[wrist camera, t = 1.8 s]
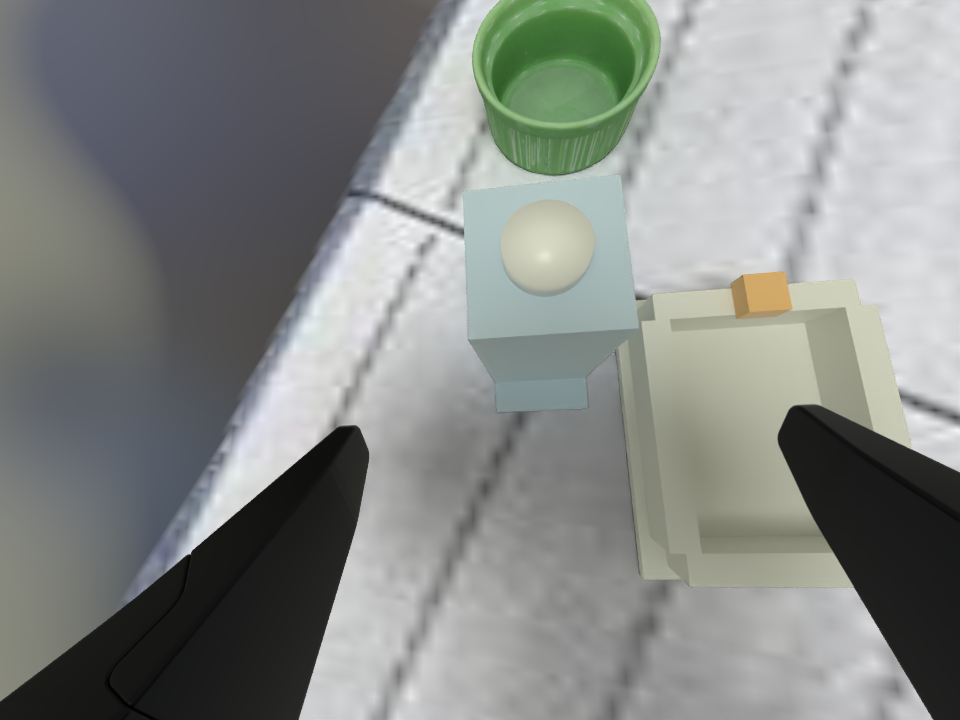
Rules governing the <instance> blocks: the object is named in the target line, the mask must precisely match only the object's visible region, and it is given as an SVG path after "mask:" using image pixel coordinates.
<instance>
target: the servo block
mask: <svg viewBox="0 0 960 720" xmlns="http://www.w3.org/2000/svg"><path fill="white" fill-rule="evenodd" d="M463 207H464V236H465V265H466V294H467V323H468V340H469V342H470V344H471V345H472V347H473V348H474V350H475V352H476V353H477V355H478V356H479V358H480V360H481V361H482V363H483V364H484V366H485V368H486V369H487V371H488V372H489V374H490V376H491V377H492V379H493V380H494V382H495V399H496V413H510V412H531V411H553V410H575V409H587V408H588V397H587V386H586V377H587V376H588V375H589V374H590V373H591V372H592V371H593V370H594V369H595V368H596V367H598V366H599V365H600V364H601V363H602V362H603V361H604V360H605V359H606V358H607V357H608V356H609V355H611V354H612V353H613V352H614V351H615V350H616V349H617V348H618V347H619V346H620V345H621V344H622V343H624V342H625V341H626V340H627V339H628V338H629V337H630V336H631V335H632V334H633V333H634V332H635V331H637V330H638V329H639V324H638V316H637V307H636V299H635V291H634V283H633V274H632V266H631V258H630V250H629V242H628V233H627V225H626V217H625V209H624V200H623V192H622V184H621V176H620V174H619V175H610V176H601V177H591V178H582V179H573V180H564V181H554V182H545V183H536V184H527V185H518V186H508V187H499V188H490V189H481V190H471V191H463Z"/></svg>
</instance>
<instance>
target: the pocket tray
mask: <svg viewBox="0 0 960 720" xmlns="http://www.w3.org/2000/svg"><path fill="white" fill-rule="evenodd" d="M730 285H731V288H728V289H715V290H702V291H688V292H675V293H662V294H652V295H651V296H650V297H649V298H648V299H647V300H636V307H637V316H638V324H639V329H638V330H637V331H635V332H634V333H633V334H632V335H631V336H630V337H629V338H628V339H627V340H626V341H625V342H624V343H622V344H621V345H620V346H619V347H618V348H617V349H616V358H617V367H618V376H619V386H620V395H621V404H622V413H623V422H624V432H625V441H626V450H627V459H628V469H629V478H630V487H631V496H632V506H633V515H634V524H635V533H636V542H637V552H638V561H639V570H640V575H641V577H642V578H643V579H644V580H683V581H684V582H685V583H686V584H687V585H688V586H689V587H769V588H854V586H853V585H852V583H851V581H850V580H849V578H848V576H847V575H846V573H845V571H844V570H843V568H842V566H841V565H840V563H839V561H838V560H837V558H836V556H835V555H834V553H833V551H832V550H831V548H830V546H829V545H828V543H827V541H826V540H825V538H824V536H823V535H822V533H821V531H820V530H819V528H818V526H817V524H816V523H815V521H814V519H813V517H812V515H811V513H810V511H809V509H808V507H807V506H806V503H805V501H804V499H803V497H802V495H801V493H800V491H799V488H798V486H797V484H796V482H795V480H794V478H793V475H792V473H791V471H790V469H789V467H788V465H787V463H786V460H785V458H784V456H783V454H782V452H781V450H780V447H779V445H778V439H777V437H778V432H779V430H780V428H781V426H782V423H783V421H784V419H785V417H786V414H787V412H788V410H789V409H790V408H791V407H792V406H794V405H803V404H817V405H820V406H822V407H824V408H827V409H829V410H831V411H833V412H835V413H837V414H839V415H841V416H843V417H845V418H847V419H849V420H851V421H854V422H856V423H858V424H860V425H862V426H864V427H866V428H868V429H870V430H872V431H874V432H876V433H879V434H881V435H883V436H885V437H887V438H889V439H891V440H893V441H895V442H897V443H899V444H901V445H904V446H906V447H908V448H910V449H912V445H911V441H910V437H909V433H908V428H907V424H906V420H905V416H904V412H903V408H902V404H901V400H900V396H899V392H898V388H897V384H896V380H895V375H894V371H893V367H892V363H891V359H890V355H889V351H888V347H887V343H886V339H885V335H884V331H883V327H882V322H881V318H880V314H879V310H878V306H877V305H870V306H861V303H860V299H859V294H858V290H857V286H856V282H855V279H847V280H833V281H820V282H807V283H794V284H787V279H786V274H785V271H784V272H771V273H759V274H746V275H742V276H741V277H739V278H738V279H736V280H735V281H734V282H732V283H731V284H730ZM912 450H913V449H912Z"/></svg>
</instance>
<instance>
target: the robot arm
mask: <svg viewBox="0 0 960 720" xmlns="http://www.w3.org/2000/svg"><path fill="white" fill-rule="evenodd" d="M777 439H778V445H779V447H780V450H781V452H782V454H783V456H784V458H785V460H786V463H787V465H788V467H789V469H790V471H791V473H792V475H793V478H794V480H795V482H796V484H797V486H798V488H799V491H800V493H801V495H802V497H803V499H804V501H805V503H806V506H807V507H808V509H809V511H810V513H811V515H812V517H813V519H814V521H815V523H816V524H817V526H818V528H819V530H820V531H821V533H822V535H823V536H824V538H825V540H826V541H827V543H828V545H829V546H830V548H831V550H832V551H833V553H834V555H835V556H836V558H837V560H838V561H839V563H840V565H841V566H842V568H843V570H844V571H845V573H846V575H847V576H848V578H849V580H850V581H851V583H852V585H853V586H854V588H855V590H856V591H857V593H858V595H859V596H860V598H861V600H862V601H863V603H864V605H865V606H866V608H867V610H868V611H869V613H870V615H871V617H872V618H873V620H874V622H875V623H876V625H877V627H878V628H879V630H880V632H881V633H882V635H883V637H884V638H885V640H886V642H887V643H888V645H889V647H890V648H891V650H892V652H893V653H894V655H895V657H896V658H897V660H898V662H899V663H900V665H901V667H902V668H903V670H904V672H905V673H906V675H907V677H908V678H909V680H910V682H911V683H912V685H913V687H914V688H915V690H916V692H917V693H918V695H919V697H920V698H921V700H922V702H923V703H924V705H925V707H926V708H927V710H928V712H929V713H930V715H931V717H932V719H933V720H960V472H958V471H956V470H954V469H951V468H949V467H947V466H945V465H943V464H941V463H939V462H937V461H935V460H933V459H931V458H929V457H926V456H924V455H922V454H920V453H918V452H916V451H914V450H912V449H910V448H908V447H906V446H904V445H901V444H899V443H897V442H895V441H893V440H891V439H889V438H887V437H885V436H883V435H881V434H879V433H876V432H874V431H872V430H870V429H868V428H866V427H864V426H862V425H860V424H858V423H856V422H854V421H851V420H849V419H847V418H845V417H843V416H841V415H839V414H837V413H835V412H833V411H831V410H829V409H827V408H824V407H822V406H820V405H817V404H803V405H794V406H792V407H791V408H790V409H789V410H788V412H787V414H786V417H785V419H784V421H783V423H782V426H781V428H780V430H779V432H778V437H777ZM368 463H369V451H368V448H367V445H366V443H365V440H364V438H363V435H362V433H361V430H360V428H359V427H358V426H356V425H348V426H339V427H338V428H336V429H335V430H334V431H333V432H331V433H330V434H329V435H328V436H327V437H326V438H324V439H323V440H322V441H321V442H320V443H318V444H317V445H316V446H315V447H314V448H313V449H311V450H310V451H309V452H308V453H307V454H305V455H304V456H303V457H302V458H301V459H300V460H298V461H297V462H296V463H295V464H294V465H293V466H291V467H290V468H289V469H288V470H287V471H285V472H284V473H283V474H282V475H281V476H280V477H278V478H277V479H276V480H275V481H274V482H273V483H271V484H270V485H269V486H268V487H267V488H265V489H264V490H263V491H262V492H261V493H260V494H258V495H257V496H256V497H255V498H254V499H252V500H251V501H250V502H249V503H248V504H247V505H245V506H244V507H243V508H242V509H241V510H240V511H238V512H237V513H236V514H235V515H234V516H232V517H231V518H230V519H229V520H228V521H227V522H225V523H224V524H223V525H222V526H221V527H220V528H218V529H217V530H216V531H215V532H214V533H212V534H211V535H210V536H209V537H208V538H207V539H205V540H204V541H203V542H202V543H201V544H199V545H198V546H197V547H196V548H195V549H194V550H193V551H192V552H191V555H190V554H188V555H186V556H185V557H184V558H183V559H182V560H180V561H179V562H178V563H177V564H176V565H175V566H173V567H172V568H171V569H170V570H169V571H168V572H166V573H165V574H164V575H163V576H161V577H160V578H159V579H158V580H157V581H155V582H154V583H153V584H152V585H151V586H149V587H148V588H147V589H146V590H144V591H143V592H142V593H141V594H140V595H138V596H137V597H136V598H135V599H133V600H132V601H131V602H130V603H128V604H127V605H126V606H124V607H123V608H122V609H121V610H119V611H118V612H117V613H116V614H114V615H113V616H112V617H110V618H109V619H108V620H107V621H105V622H104V623H103V624H102V625H100V626H99V627H98V628H96V629H95V630H94V631H92V632H91V633H90V634H89V635H87V636H86V637H84V638H83V639H82V640H81V641H79V642H78V643H77V644H75V645H74V646H73V647H71V648H70V649H69V650H68V651H66V652H65V653H64V654H62V655H61V656H60V657H58V658H57V659H56V660H54V661H53V662H52V663H50V664H49V665H48V666H46V667H45V668H44V669H43V670H41V671H40V672H39V673H37V674H36V675H35V676H33V677H32V678H31V679H29V680H28V681H27V682H25V683H24V684H23V685H21V686H20V687H19V688H18V689H16V690H15V691H14V692H12V693H11V694H10V695H8V696H7V697H6V698H4V699H3V700H2V701H0V720H299V716H300V713H301V710H302V706H303V703H304V700H305V696H306V693H307V690H308V686H309V683H310V680H311V676H312V673H313V670H314V666H315V663H316V660H317V656H318V653H319V650H320V646H321V643H322V640H323V636H324V633H325V630H326V626H327V623H328V620H329V616H330V613H331V610H332V606H333V603H334V600H335V596H336V593H337V590H338V586H339V583H340V580H341V576H342V573H343V570H344V566H345V563H346V560H347V556H348V553H349V550H350V546H351V543H352V540H353V536H354V533H355V529H356V526H357V521H358V517H359V512H360V506H361V501H362V495H363V490H364V484H365V479H366V474H367V468H368Z"/></svg>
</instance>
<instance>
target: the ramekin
mask: <svg viewBox="0 0 960 720" xmlns="http://www.w3.org/2000/svg"><path fill="white" fill-rule="evenodd" d="M660 42H661V38H660V30H659V26H658V23H657V19H656V17H655V15H654V13H653V11H652V9H651V7H650V6H649V5H648V3H647V2H646V1H645V0H500V1H499V2H498V3H497V4H496V5H495V6H494V7H493V9H492V10H491V11H490V12H489V13H488V15H487V16H486V18H485V19H484V21H483V22H482V24H481V26H480V28H479V30H478V33H477V35H476V38H475V41H474V46H473V53H472V65H473V72H474V76H475V80H476V83H477V86H478V89H479V91H480V93H481V95H482V97H483V99H484V104H485V108H486V112H487V117H488V121H489V125H490V129H491V133H492V136H493V138H494V140H495V143H496V144H497V146H498V147H499V149H500V150H501V152H502V153H503V154H504V155H505V156H506V157H507V158H508V159H509V160H510V161H512V162H513V163H514V164H516V165H518V166H520V167H522V168H524V169H526V170H529V171H531V172H536V173H541V174H549V175H558V174H567V173H572V172H576V171H579V170H582V169H584V168H587V167H589V166H591V165H593V164H595V163H596V162H598V161H599V160H601V159H602V158H604V157H605V156H606V155H607V154H608V153H609V152H610V151H611V150H612V149H613V148H614V147H615V146H616V144H617V143H618V142H619V141H620V139H621V137H622V135H623V134H624V132H625V130H626V128H627V126H628V123H629V121H630V118H631V116H632V114H633V111H634V109H635V106H636V104H637V102H638V99H639V98H640V96H641V95H642V93H643V92H644V90H645V89H646V87H647V85H648V83H649V81H650V79H651V77H652V75H653V73H654V71H655V68H656V65H657V62H658V59H659V54H660Z"/></svg>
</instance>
